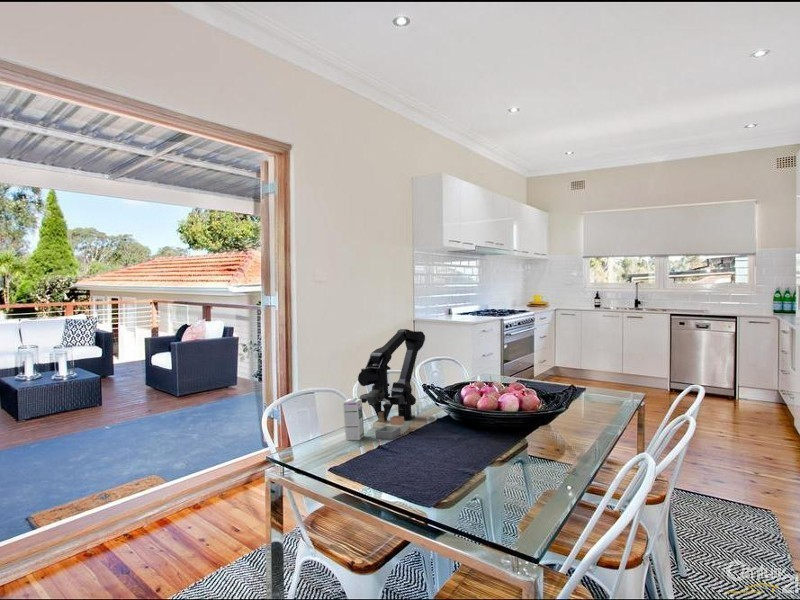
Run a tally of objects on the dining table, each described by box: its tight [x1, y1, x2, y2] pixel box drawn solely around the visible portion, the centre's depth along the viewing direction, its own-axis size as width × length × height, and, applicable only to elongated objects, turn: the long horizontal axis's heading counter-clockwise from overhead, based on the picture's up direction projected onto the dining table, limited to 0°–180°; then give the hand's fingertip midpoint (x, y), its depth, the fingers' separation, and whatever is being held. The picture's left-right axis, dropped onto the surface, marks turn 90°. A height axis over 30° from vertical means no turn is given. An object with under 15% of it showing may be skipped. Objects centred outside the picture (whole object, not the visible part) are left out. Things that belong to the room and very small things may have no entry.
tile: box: [389, 415, 405, 425], centre depth 187 cm, size 4×4×2 cm
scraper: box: [372, 410, 390, 429], centre depth 196 cm, size 6×6×6 cm
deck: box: [385, 421, 410, 435], centre depth 186 cm, size 7×7×3 cm
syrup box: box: [342, 397, 365, 441], centre depth 181 cm, size 6×6×14 cm
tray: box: [374, 426, 402, 441], centre depth 180 cm, size 7×7×3 cm
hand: (382, 420), depth 196 cm, fingers closed on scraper, 2 cm apart
